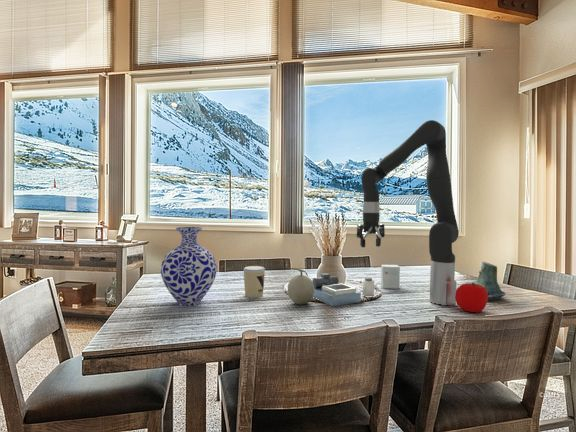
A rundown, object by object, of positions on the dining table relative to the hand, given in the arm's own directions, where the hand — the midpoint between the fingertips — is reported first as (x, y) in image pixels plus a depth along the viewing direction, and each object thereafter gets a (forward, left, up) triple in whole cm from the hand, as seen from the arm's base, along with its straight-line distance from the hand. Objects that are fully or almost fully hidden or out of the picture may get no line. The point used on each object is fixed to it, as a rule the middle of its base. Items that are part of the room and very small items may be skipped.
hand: (370, 246), depth 175 cm
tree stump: (-29, -37, -21) cm, 51 cm away
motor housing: (-5, +24, -20) cm, 32 cm away
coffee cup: (+15, +52, -21) cm, 58 cm away
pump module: (-8, +8, -20) cm, 23 cm away
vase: (+15, +80, -21) cm, 84 cm away
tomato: (-42, -14, -21) cm, 49 cm away
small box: (+1, -13, -21) cm, 24 cm away
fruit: (-5, +40, -21) cm, 45 cm away
